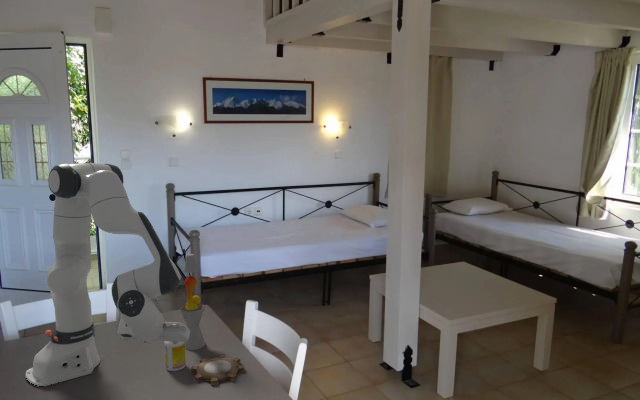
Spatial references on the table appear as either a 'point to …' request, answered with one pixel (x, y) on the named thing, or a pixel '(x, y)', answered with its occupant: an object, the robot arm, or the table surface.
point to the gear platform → (217, 369)
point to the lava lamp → (192, 307)
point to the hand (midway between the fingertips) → (161, 341)
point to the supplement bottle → (174, 356)
